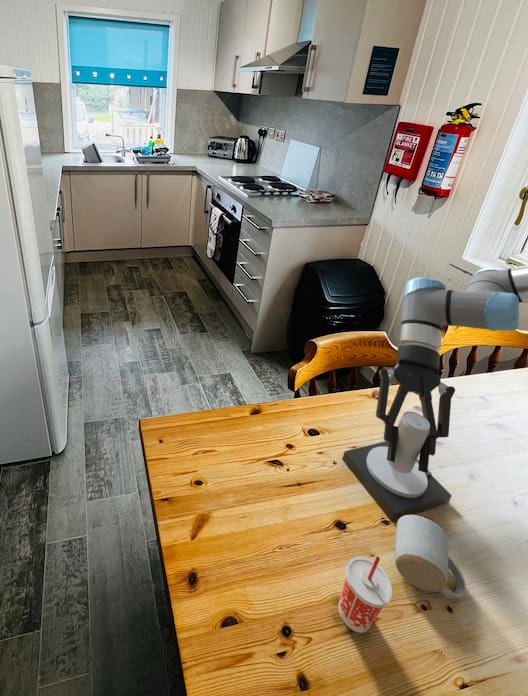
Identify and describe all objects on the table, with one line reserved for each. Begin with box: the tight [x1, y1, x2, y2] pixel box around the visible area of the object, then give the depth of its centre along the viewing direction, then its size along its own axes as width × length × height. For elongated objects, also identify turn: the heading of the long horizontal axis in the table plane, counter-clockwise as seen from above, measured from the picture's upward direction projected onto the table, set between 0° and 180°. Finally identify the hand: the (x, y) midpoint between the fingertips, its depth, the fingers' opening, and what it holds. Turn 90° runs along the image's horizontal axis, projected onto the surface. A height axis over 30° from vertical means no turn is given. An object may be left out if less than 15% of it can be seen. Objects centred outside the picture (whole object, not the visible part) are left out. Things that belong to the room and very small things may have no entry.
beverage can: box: [386, 411, 430, 473], centre depth 78 cm, size 5×5×12 cm
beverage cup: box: [337, 556, 393, 634], centre depth 58 cm, size 6×6×14 cm
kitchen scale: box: [341, 440, 452, 522], centre depth 82 cm, size 14×14×3 cm
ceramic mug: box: [394, 514, 467, 600], centre depth 65 cm, size 11×8×8 cm
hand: (406, 466), depth 76 cm, fingers closed on beverage can, 5 cm apart
